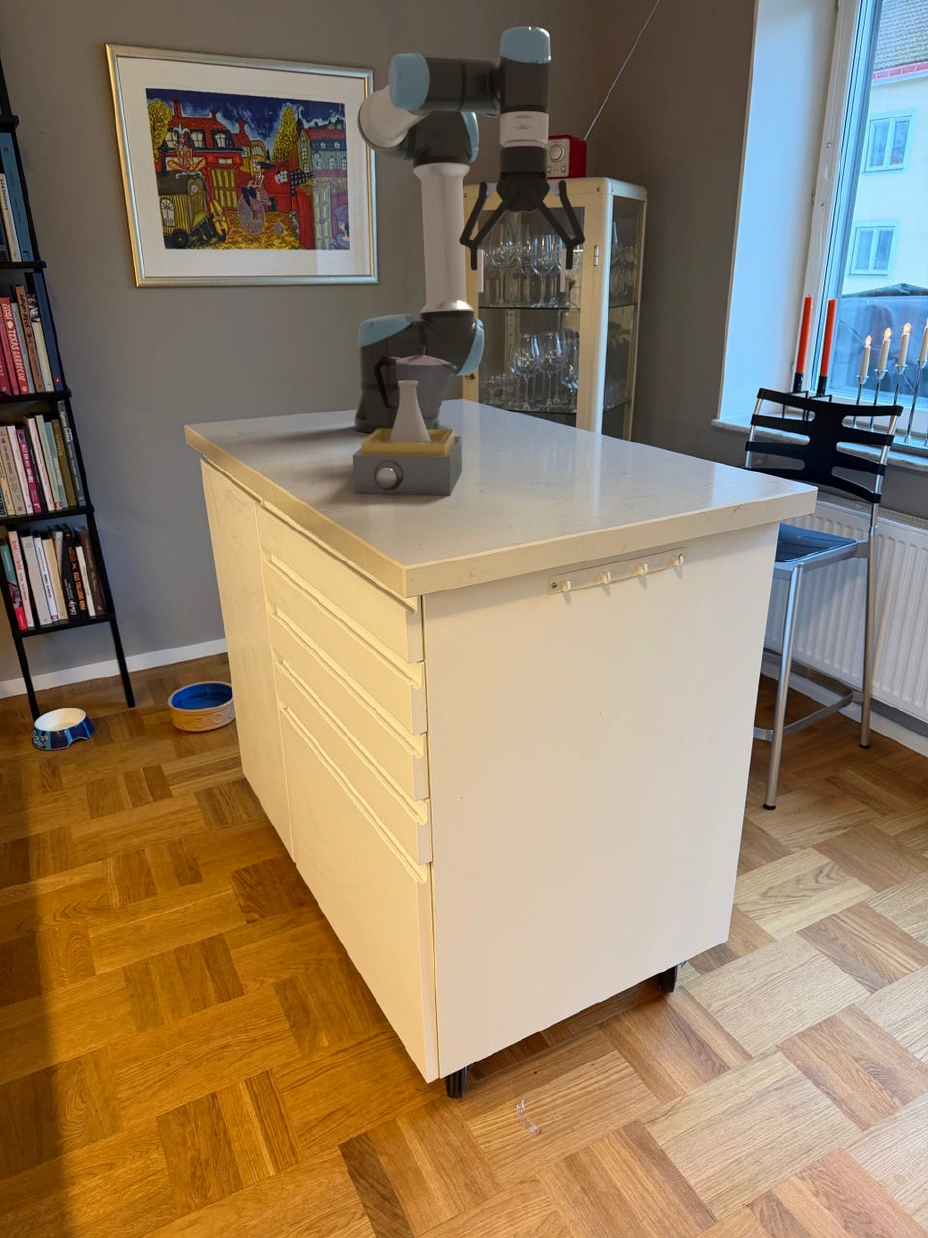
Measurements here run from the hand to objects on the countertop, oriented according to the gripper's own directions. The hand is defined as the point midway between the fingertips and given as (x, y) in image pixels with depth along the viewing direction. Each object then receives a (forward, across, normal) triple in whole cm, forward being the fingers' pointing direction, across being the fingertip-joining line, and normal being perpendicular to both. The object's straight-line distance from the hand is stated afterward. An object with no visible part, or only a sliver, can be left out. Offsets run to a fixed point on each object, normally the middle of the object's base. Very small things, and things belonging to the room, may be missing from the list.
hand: (521, 292), depth 143 cm
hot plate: (+29, -17, -16) cm, 37 cm away
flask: (+23, -17, -15) cm, 32 cm away
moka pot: (+29, -19, +4) cm, 35 cm away
